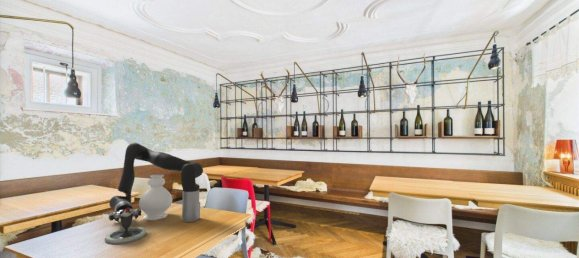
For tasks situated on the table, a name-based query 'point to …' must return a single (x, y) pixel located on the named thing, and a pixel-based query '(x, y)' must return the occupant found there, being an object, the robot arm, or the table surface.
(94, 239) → the table surface
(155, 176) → the decorative vase
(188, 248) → the table surface
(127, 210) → the sundae
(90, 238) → the table surface
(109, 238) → the tray
